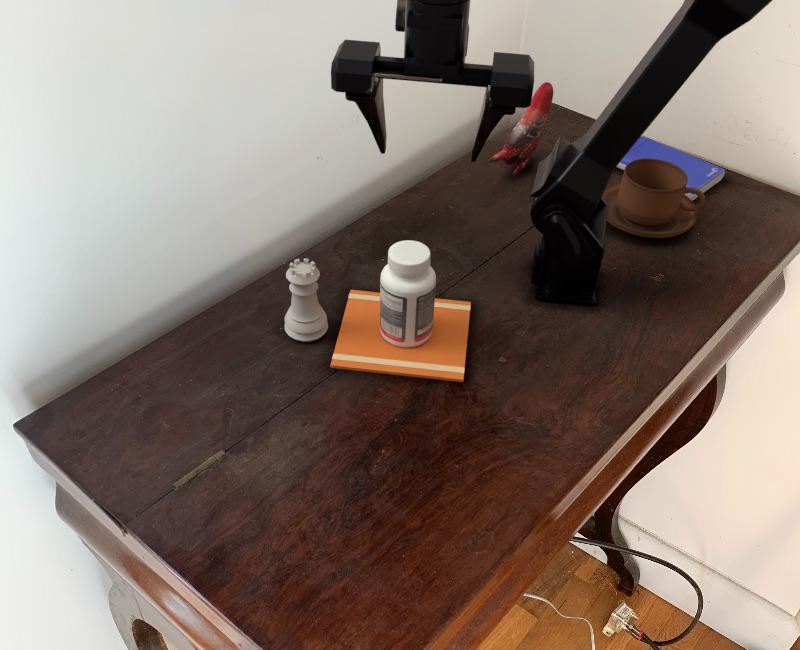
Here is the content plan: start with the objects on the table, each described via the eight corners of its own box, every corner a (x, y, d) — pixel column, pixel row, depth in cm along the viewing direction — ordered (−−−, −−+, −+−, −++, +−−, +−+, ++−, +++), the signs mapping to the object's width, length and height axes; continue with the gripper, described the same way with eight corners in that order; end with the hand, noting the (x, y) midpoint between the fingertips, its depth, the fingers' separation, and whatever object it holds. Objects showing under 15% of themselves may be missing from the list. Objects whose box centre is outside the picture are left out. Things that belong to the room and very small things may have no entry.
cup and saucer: (678, 193, 103) (692, 149, 98) (705, 248, 95) (721, 202, 90) (585, 192, 102) (595, 147, 98) (604, 247, 94) (616, 201, 90)
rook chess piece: (336, 323, 83) (334, 260, 77) (315, 349, 80) (311, 285, 74) (298, 310, 84) (293, 247, 78) (276, 336, 81) (269, 272, 76)
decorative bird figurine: (551, 150, 110) (564, 78, 102) (494, 210, 99) (504, 134, 92) (532, 144, 111) (544, 73, 103) (473, 202, 100) (481, 127, 93)
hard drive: (726, 168, 105) (644, 134, 111) (694, 191, 100) (611, 154, 106) (722, 179, 106) (641, 145, 112) (691, 202, 102) (608, 165, 107)
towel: (470, 304, 86) (471, 301, 86) (463, 382, 78) (463, 378, 77) (350, 292, 87) (350, 288, 86) (330, 368, 78) (330, 364, 78)
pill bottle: (425, 311, 84) (430, 232, 77) (438, 345, 80) (445, 265, 74) (374, 318, 83) (375, 238, 76) (385, 352, 80) (387, 272, 73)
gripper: (544, -30, 76) (521, 126, 87) (348, -45, 77) (350, 111, 88) (545, 15, 68) (519, 180, 79) (327, -3, 69) (332, 162, 80)
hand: (428, 155), depth 82 cm, fingers open, 9 cm apart
